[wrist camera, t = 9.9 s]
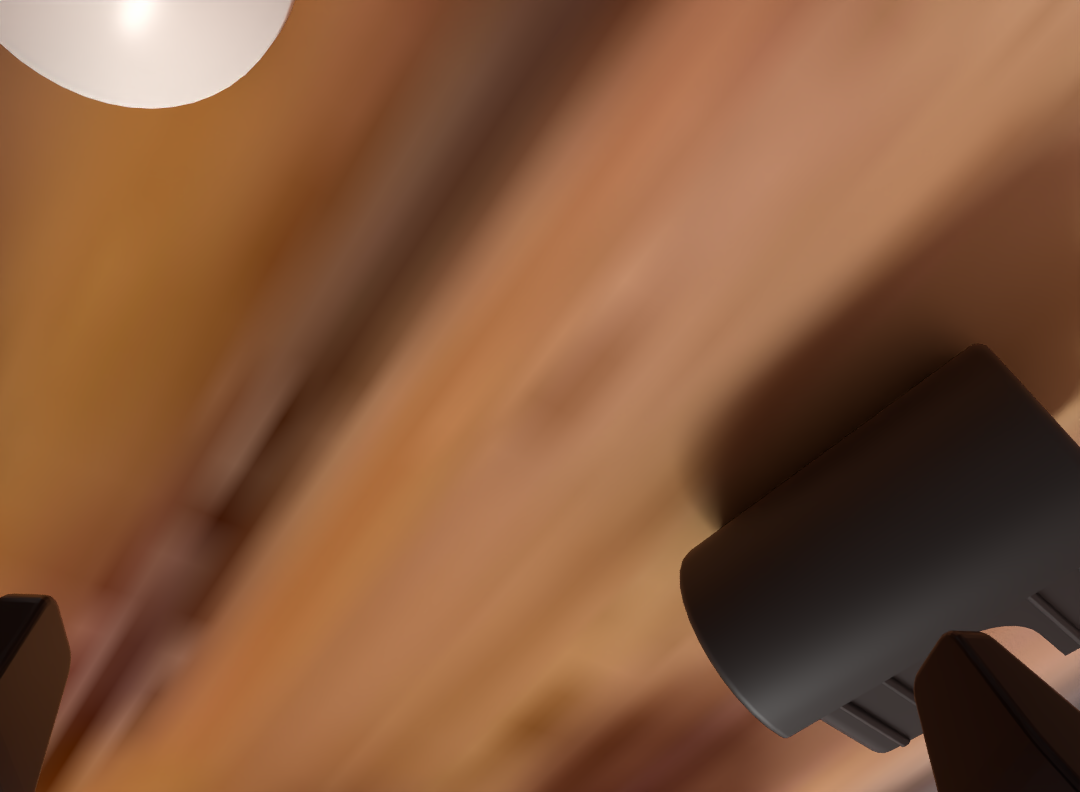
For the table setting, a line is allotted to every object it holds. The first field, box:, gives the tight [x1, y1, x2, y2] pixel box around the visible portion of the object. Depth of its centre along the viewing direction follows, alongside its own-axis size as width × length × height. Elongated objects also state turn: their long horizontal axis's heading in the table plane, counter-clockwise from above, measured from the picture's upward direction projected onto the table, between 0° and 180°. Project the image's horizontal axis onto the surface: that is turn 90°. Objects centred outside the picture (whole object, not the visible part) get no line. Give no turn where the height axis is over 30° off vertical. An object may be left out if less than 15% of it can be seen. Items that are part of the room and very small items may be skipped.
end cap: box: [680, 344, 1080, 753], centre depth 23 cm, size 10×7×7 cm
